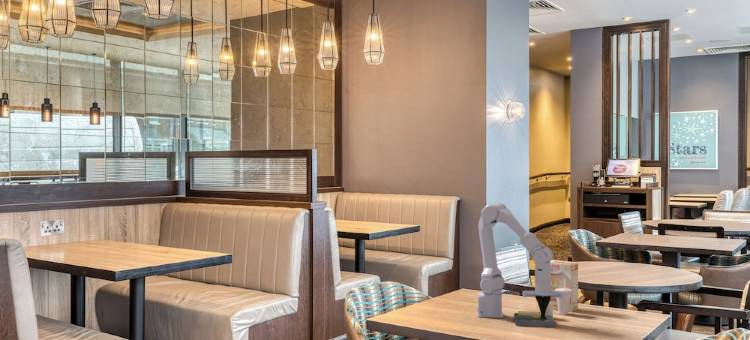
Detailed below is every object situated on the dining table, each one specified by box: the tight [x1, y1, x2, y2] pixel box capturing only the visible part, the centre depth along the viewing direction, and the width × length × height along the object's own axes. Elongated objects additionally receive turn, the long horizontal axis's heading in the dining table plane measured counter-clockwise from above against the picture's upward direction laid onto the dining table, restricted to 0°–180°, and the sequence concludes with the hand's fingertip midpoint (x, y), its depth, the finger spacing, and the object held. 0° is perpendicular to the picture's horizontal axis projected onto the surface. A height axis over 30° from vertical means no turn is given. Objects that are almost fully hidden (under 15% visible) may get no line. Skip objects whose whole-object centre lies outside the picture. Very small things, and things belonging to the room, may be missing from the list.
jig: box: [513, 312, 555, 328], centre depth 244 cm, size 14×10×3 cm
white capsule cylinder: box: [545, 302, 554, 319], centre depth 252 cm, size 4×4×6 cm
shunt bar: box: [517, 310, 541, 319], centre depth 245 cm, size 8×3×2 cm, turn 81°
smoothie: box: [555, 279, 572, 316], centre depth 259 cm, size 6×6×14 cm
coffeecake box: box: [537, 259, 579, 313], centre depth 269 cm, size 15×7×20 cm, turn 49°
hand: (542, 316), depth 244 cm, fingers closed
